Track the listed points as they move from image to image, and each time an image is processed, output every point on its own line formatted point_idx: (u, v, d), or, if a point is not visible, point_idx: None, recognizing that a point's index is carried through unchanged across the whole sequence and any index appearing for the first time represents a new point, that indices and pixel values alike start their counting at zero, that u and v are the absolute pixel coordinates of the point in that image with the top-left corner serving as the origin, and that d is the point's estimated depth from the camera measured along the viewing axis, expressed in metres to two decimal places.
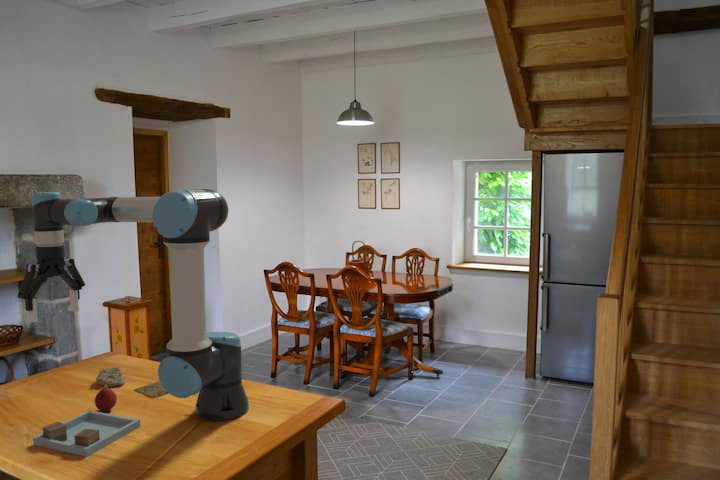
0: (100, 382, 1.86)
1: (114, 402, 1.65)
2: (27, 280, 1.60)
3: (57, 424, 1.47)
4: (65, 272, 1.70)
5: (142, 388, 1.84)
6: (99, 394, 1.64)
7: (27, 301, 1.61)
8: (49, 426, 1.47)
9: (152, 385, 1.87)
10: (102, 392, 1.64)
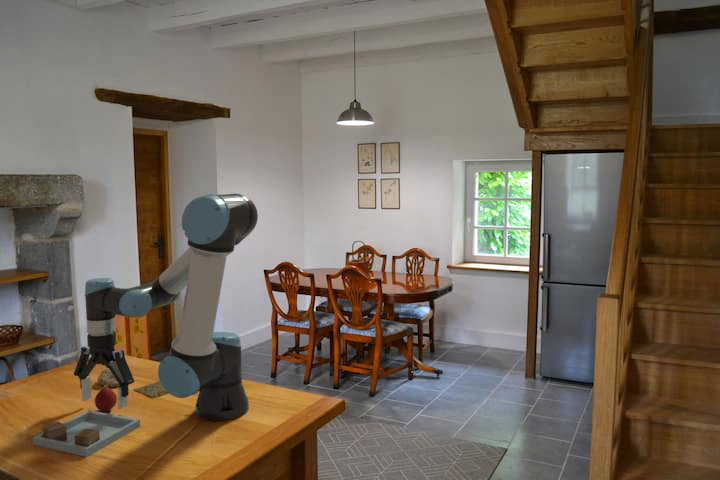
0: (101, 382, 1.86)
1: (114, 402, 1.65)
2: None
3: (57, 424, 1.47)
4: (106, 364, 1.62)
5: (142, 388, 1.84)
6: (99, 394, 1.64)
7: None
8: (49, 426, 1.47)
9: (152, 385, 1.87)
10: (102, 392, 1.64)
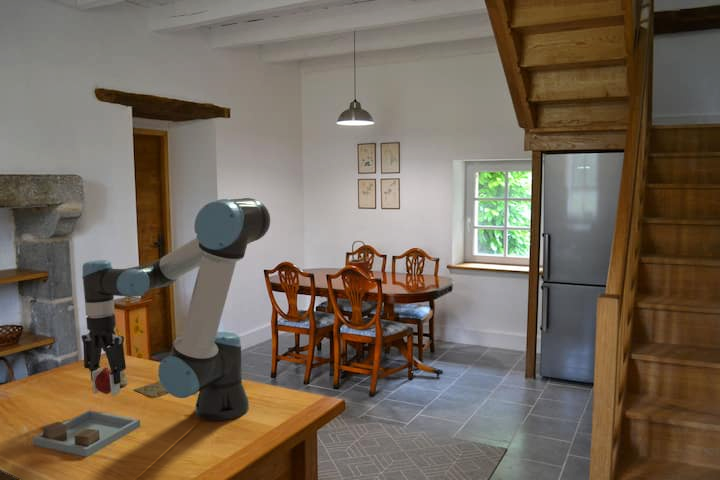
0: None
1: None
2: None
3: (57, 424, 1.47)
4: (104, 348, 1.61)
5: (142, 388, 1.84)
6: (99, 375, 1.63)
7: None
8: (49, 426, 1.47)
9: (152, 385, 1.87)
10: (102, 373, 1.63)
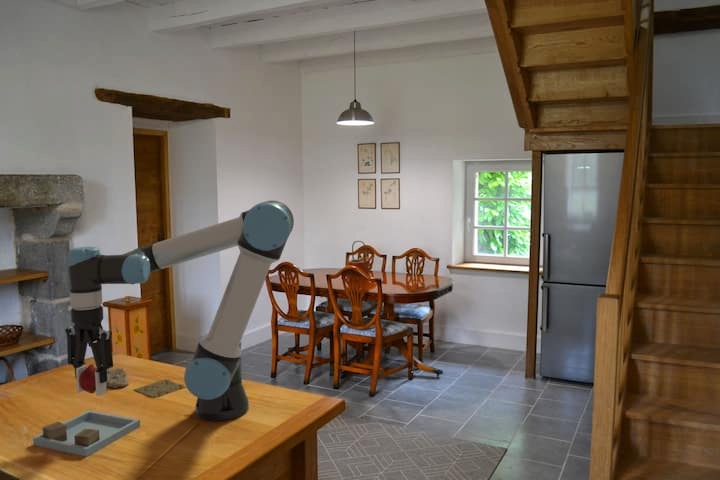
0: None
1: None
2: None
3: (57, 424, 1.47)
4: (90, 343, 1.47)
5: (142, 388, 1.84)
6: (84, 373, 1.49)
7: None
8: (49, 426, 1.47)
9: (152, 385, 1.87)
10: (87, 370, 1.49)
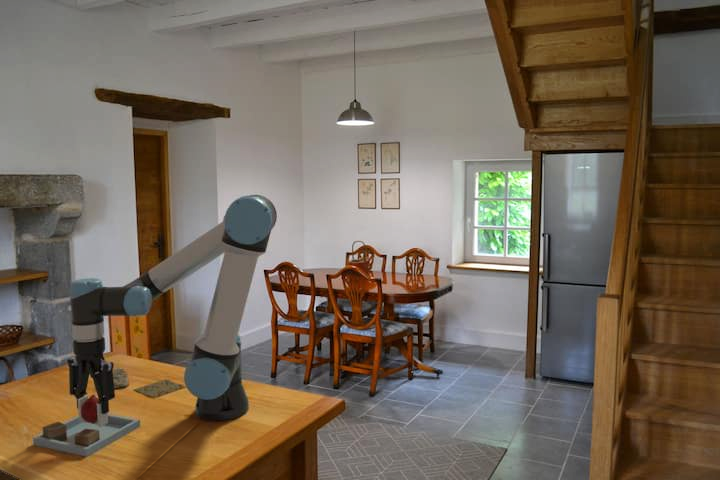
0: None
1: None
2: None
3: (57, 424, 1.47)
4: (92, 374, 1.48)
5: (142, 388, 1.84)
6: (86, 404, 1.50)
7: None
8: (49, 426, 1.47)
9: (152, 385, 1.87)
10: (89, 401, 1.50)
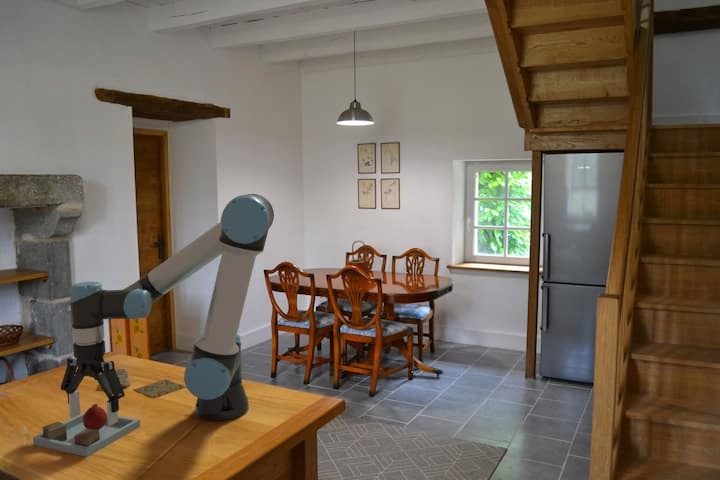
0: None
1: (104, 422, 1.51)
2: None
3: (57, 424, 1.47)
4: (95, 376, 1.48)
5: (142, 388, 1.84)
6: (88, 413, 1.49)
7: None
8: (49, 426, 1.47)
9: (152, 385, 1.86)
10: (91, 411, 1.50)
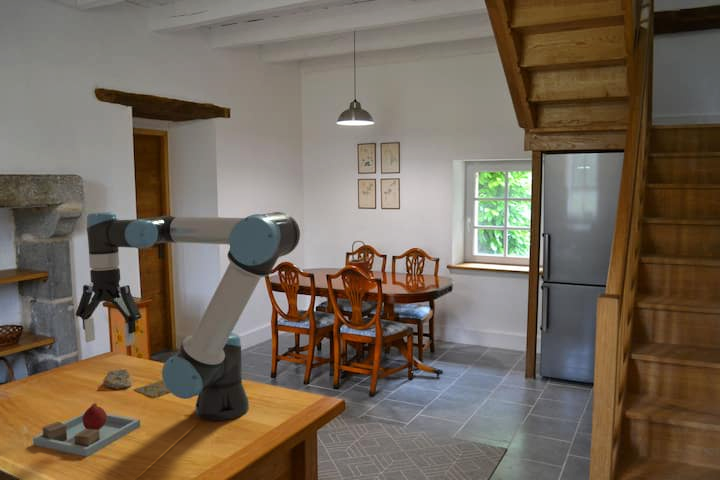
0: (106, 384, 1.85)
1: (104, 421, 1.51)
2: None
3: (57, 424, 1.47)
4: (112, 300, 1.56)
5: (142, 388, 1.84)
6: (87, 412, 1.50)
7: None
8: (49, 426, 1.47)
9: (152, 385, 1.86)
10: (90, 410, 1.50)
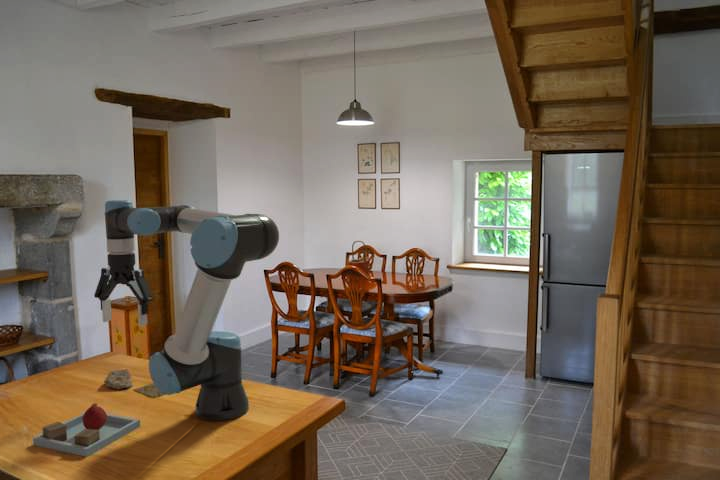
0: (107, 384, 1.84)
1: (104, 421, 1.51)
2: None
3: (57, 424, 1.47)
4: (126, 282, 1.66)
5: (142, 388, 1.84)
6: (87, 412, 1.50)
7: None
8: (49, 426, 1.47)
9: (152, 385, 1.86)
10: (90, 410, 1.50)
